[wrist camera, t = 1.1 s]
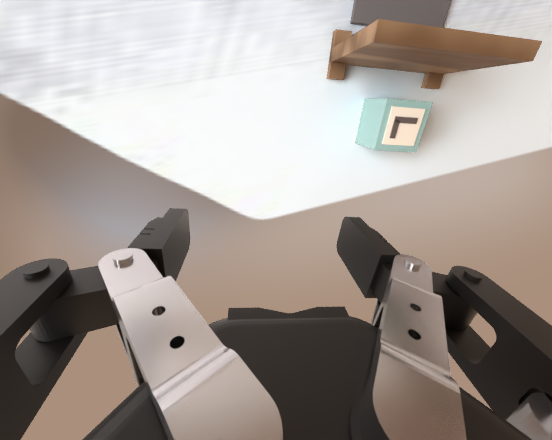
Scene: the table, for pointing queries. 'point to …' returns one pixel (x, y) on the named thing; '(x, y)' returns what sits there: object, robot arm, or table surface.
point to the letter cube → (392, 124)
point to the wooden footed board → (424, 50)
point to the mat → (401, 11)
